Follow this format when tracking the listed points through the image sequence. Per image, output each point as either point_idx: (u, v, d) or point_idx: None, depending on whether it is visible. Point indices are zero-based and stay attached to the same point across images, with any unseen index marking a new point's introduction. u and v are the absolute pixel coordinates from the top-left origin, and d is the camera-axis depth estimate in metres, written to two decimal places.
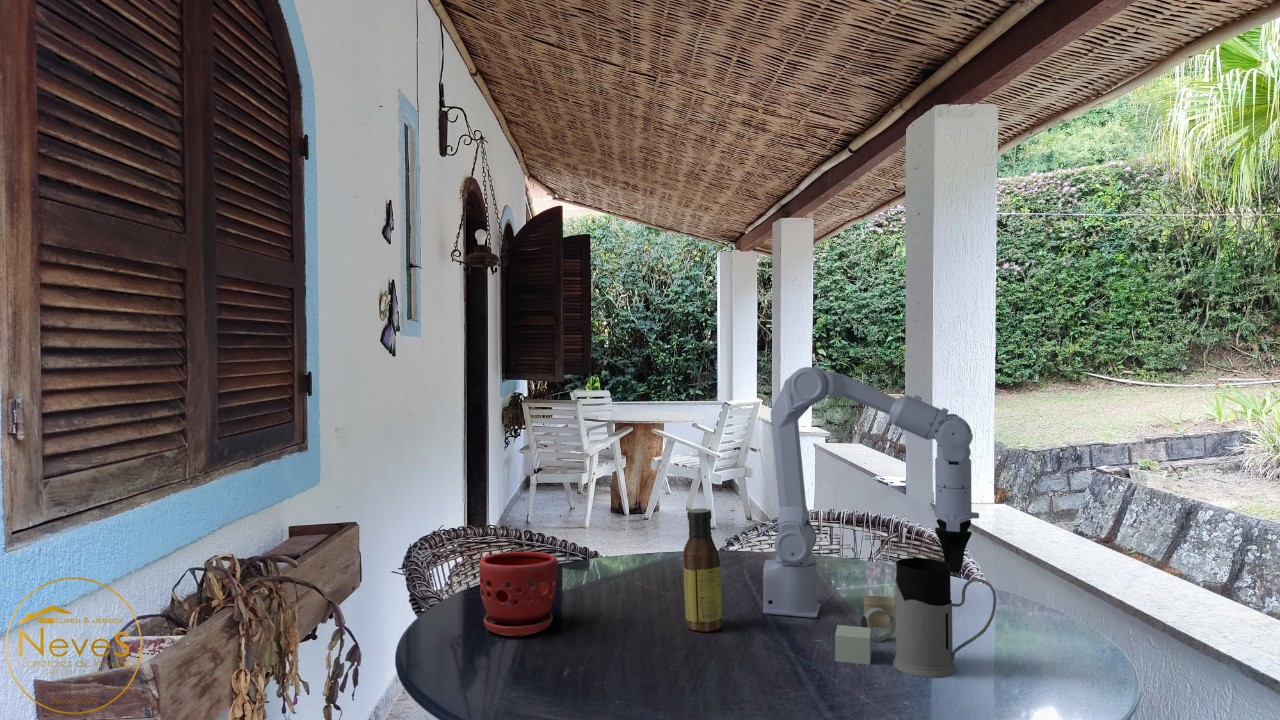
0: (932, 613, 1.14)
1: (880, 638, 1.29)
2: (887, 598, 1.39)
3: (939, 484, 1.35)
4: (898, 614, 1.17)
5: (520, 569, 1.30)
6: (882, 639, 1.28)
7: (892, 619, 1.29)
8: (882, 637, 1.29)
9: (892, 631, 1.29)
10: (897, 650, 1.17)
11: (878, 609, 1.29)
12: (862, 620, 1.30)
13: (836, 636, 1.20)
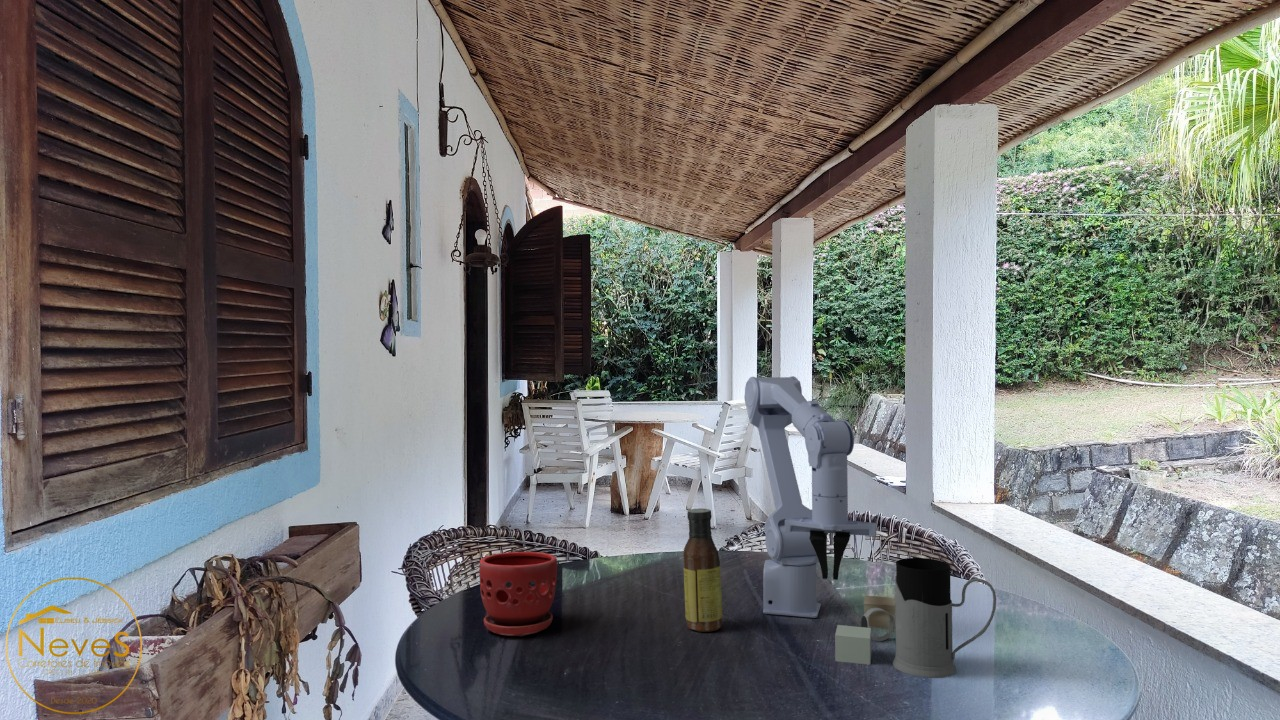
0: (932, 613, 1.14)
1: (880, 638, 1.29)
2: (887, 598, 1.39)
3: None
4: (898, 614, 1.17)
5: (520, 569, 1.30)
6: (882, 639, 1.28)
7: (892, 619, 1.29)
8: (882, 637, 1.29)
9: (892, 631, 1.29)
10: (897, 650, 1.17)
11: (878, 609, 1.29)
12: (862, 620, 1.30)
13: (836, 636, 1.20)
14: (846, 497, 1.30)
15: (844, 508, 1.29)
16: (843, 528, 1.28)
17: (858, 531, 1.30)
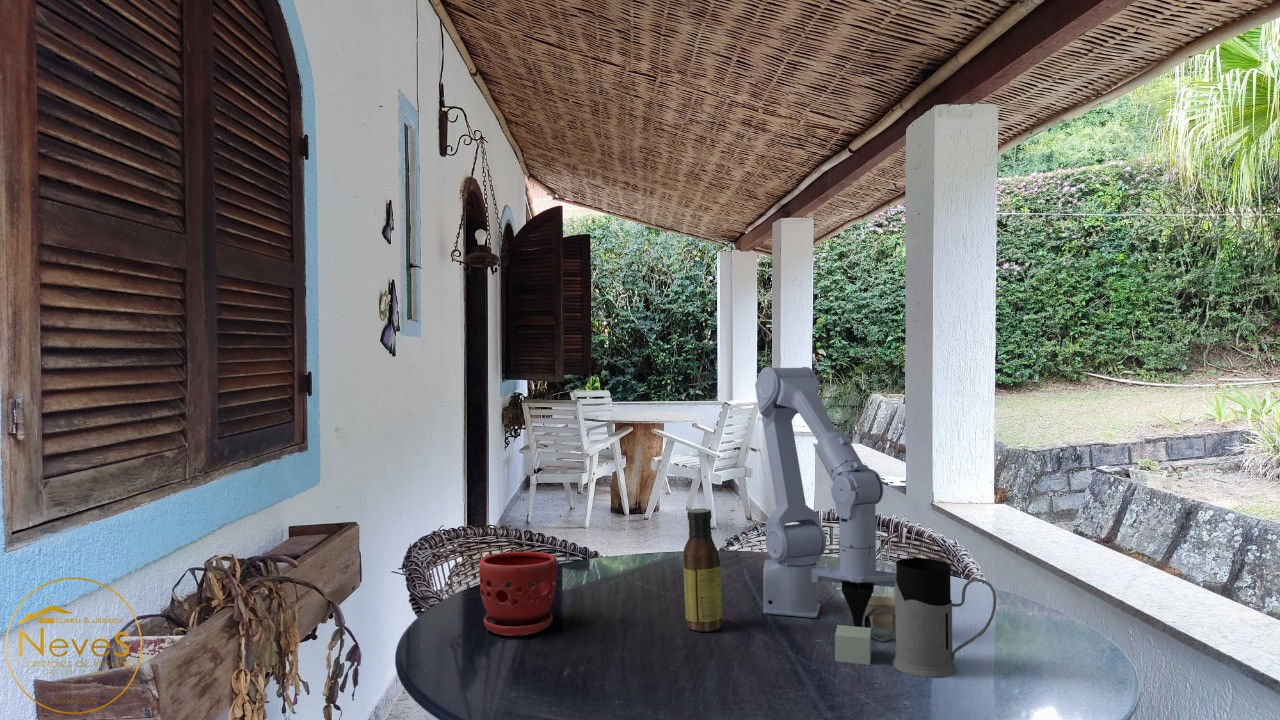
0: (932, 613, 1.14)
1: (884, 638, 1.29)
2: (887, 598, 1.39)
3: None
4: (898, 614, 1.17)
5: (520, 569, 1.30)
6: (886, 639, 1.28)
7: None
8: (886, 637, 1.29)
9: None
10: (897, 650, 1.17)
11: (882, 609, 1.29)
12: (865, 620, 1.29)
13: (836, 636, 1.20)
14: (874, 548, 1.28)
15: (872, 560, 1.28)
16: (872, 580, 1.27)
17: (887, 583, 1.28)
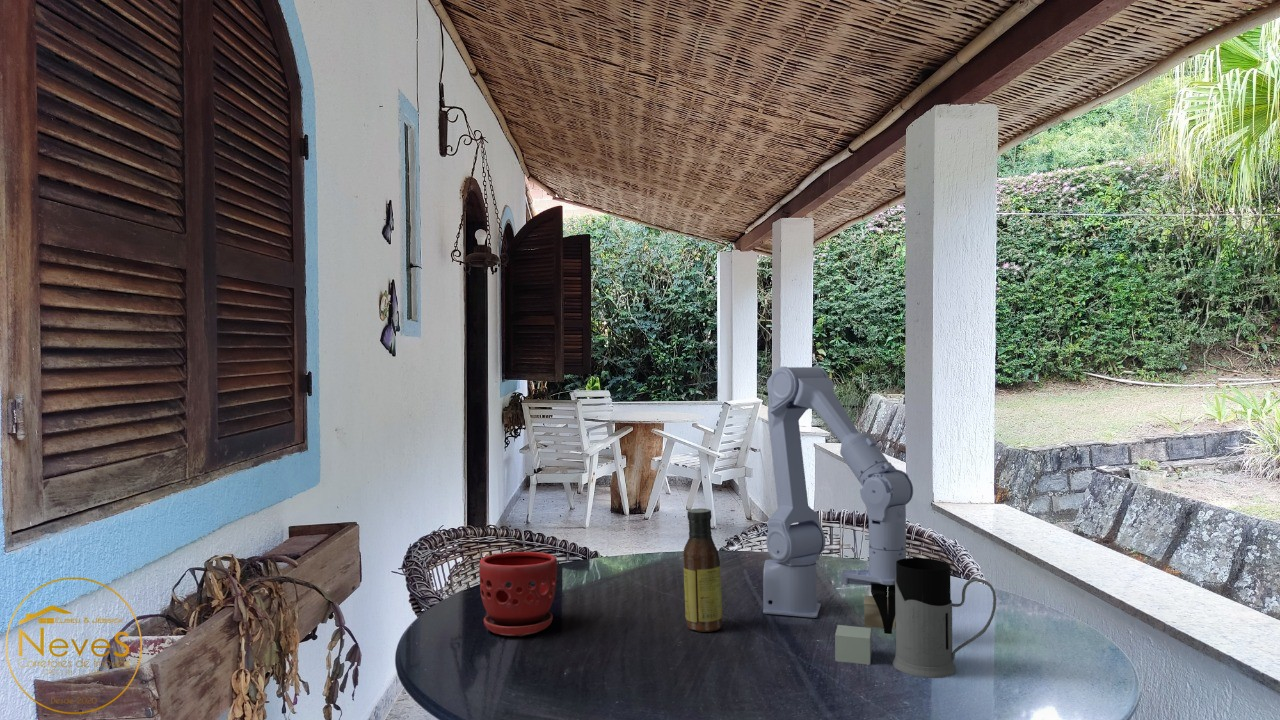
0: (932, 613, 1.14)
1: None
2: (887, 598, 1.39)
3: None
4: (898, 614, 1.17)
5: (520, 569, 1.30)
6: None
7: None
8: None
9: None
10: (897, 650, 1.17)
11: None
12: None
13: (836, 636, 1.20)
14: (905, 550, 1.27)
15: None
16: None
17: None
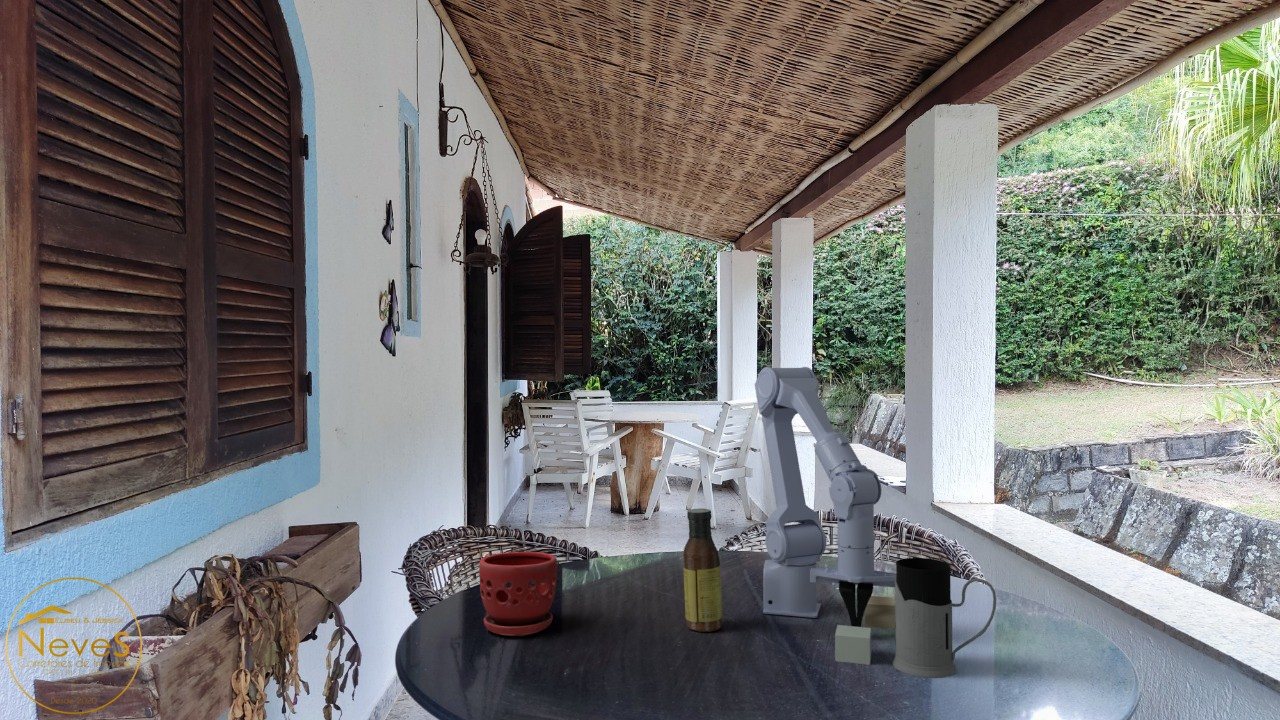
0: (932, 613, 1.14)
1: None
2: (887, 598, 1.39)
3: None
4: (898, 614, 1.17)
5: (520, 569, 1.30)
6: None
7: None
8: None
9: None
10: (897, 650, 1.17)
11: None
12: None
13: (836, 636, 1.20)
14: (872, 548, 1.29)
15: (870, 560, 1.28)
16: (870, 580, 1.27)
17: (885, 583, 1.29)
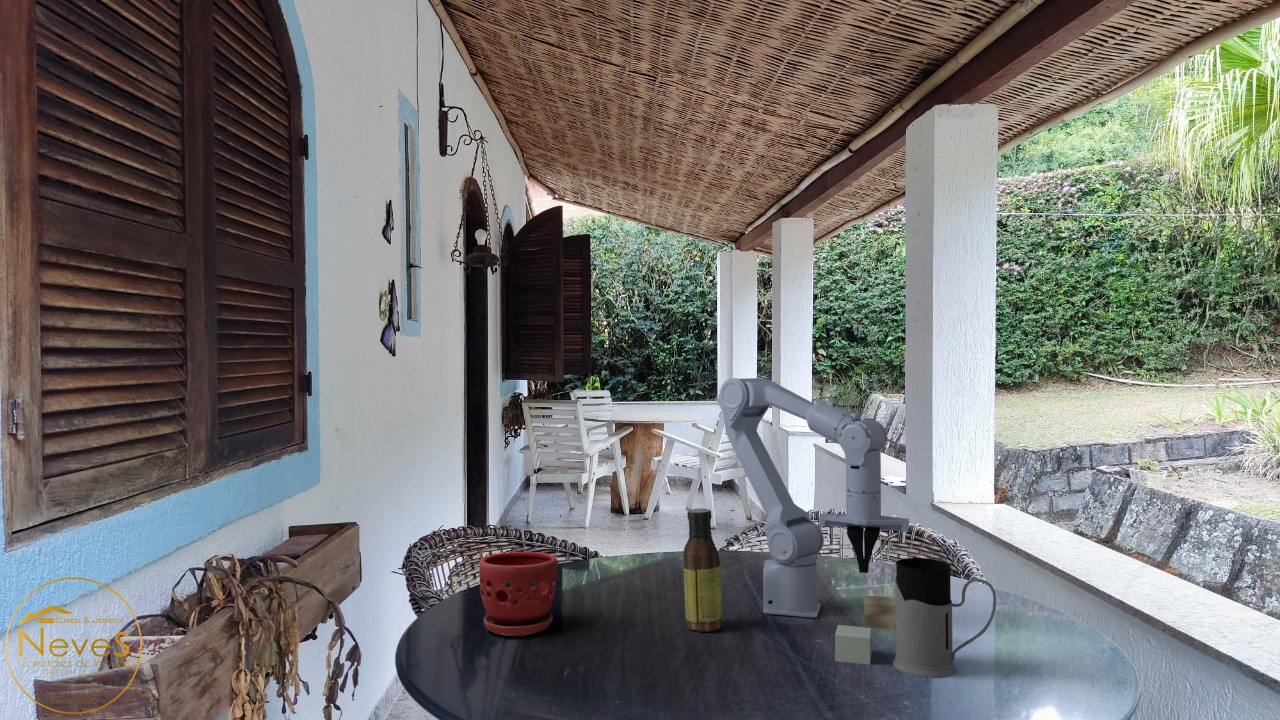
0: (932, 613, 1.14)
1: None
2: (887, 598, 1.39)
3: (846, 488, 1.36)
4: (898, 614, 1.17)
5: (520, 569, 1.30)
6: None
7: None
8: None
9: None
10: (897, 650, 1.17)
11: None
12: None
13: (836, 636, 1.20)
14: (879, 493, 1.34)
15: (877, 504, 1.33)
16: (876, 523, 1.32)
17: (891, 527, 1.34)
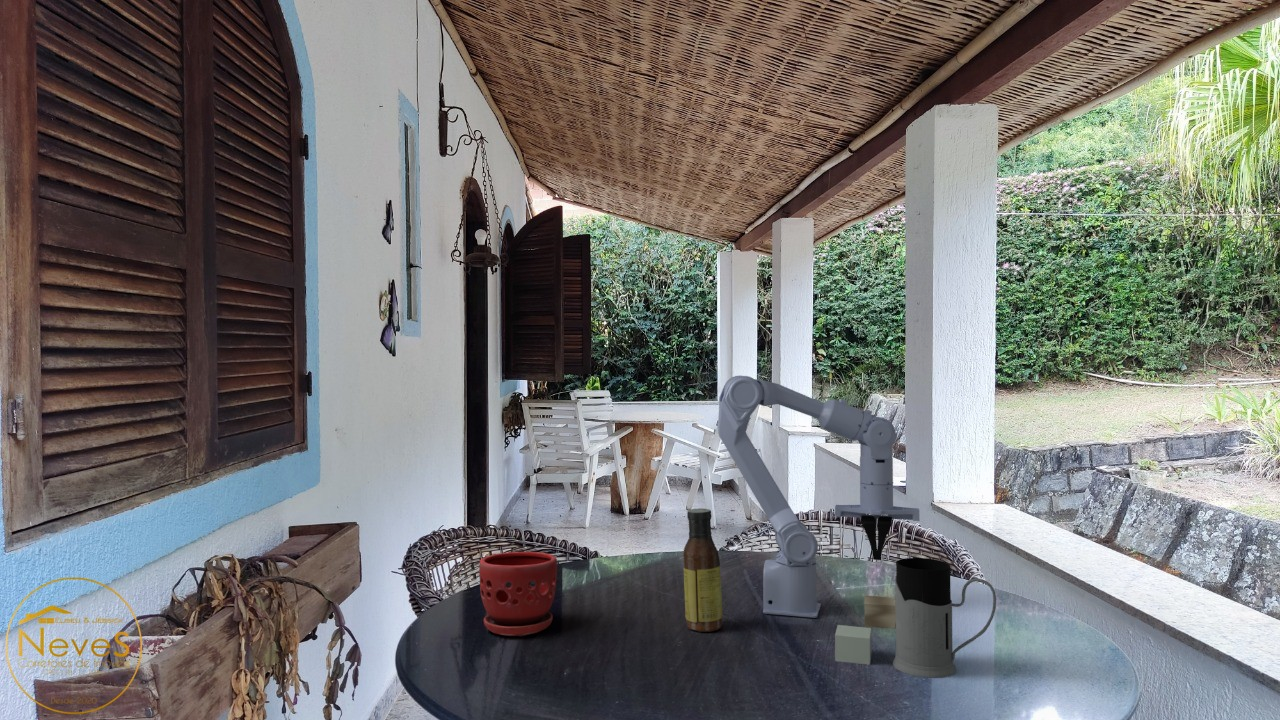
0: (932, 613, 1.14)
1: None
2: (887, 598, 1.39)
3: (866, 481, 1.43)
4: (898, 614, 1.17)
5: (520, 569, 1.30)
6: None
7: None
8: None
9: None
10: (897, 650, 1.17)
11: None
12: None
13: (836, 636, 1.20)
14: (892, 485, 1.43)
15: (890, 495, 1.42)
16: (889, 513, 1.41)
17: (903, 516, 1.43)
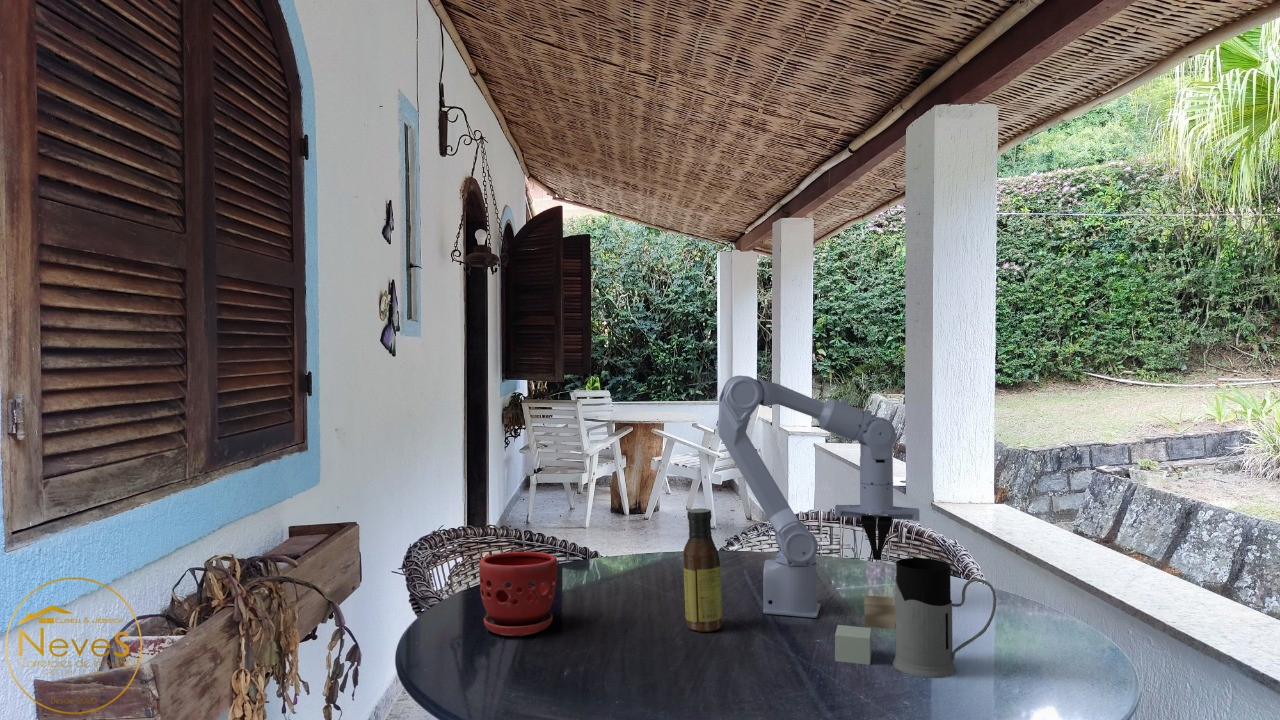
0: (932, 613, 1.14)
1: None
2: (887, 598, 1.39)
3: (866, 481, 1.43)
4: (898, 614, 1.17)
5: (520, 569, 1.30)
6: None
7: None
8: None
9: None
10: (897, 650, 1.17)
11: None
12: None
13: (836, 636, 1.20)
14: (892, 485, 1.43)
15: (890, 495, 1.42)
16: (889, 513, 1.41)
17: (903, 516, 1.43)
